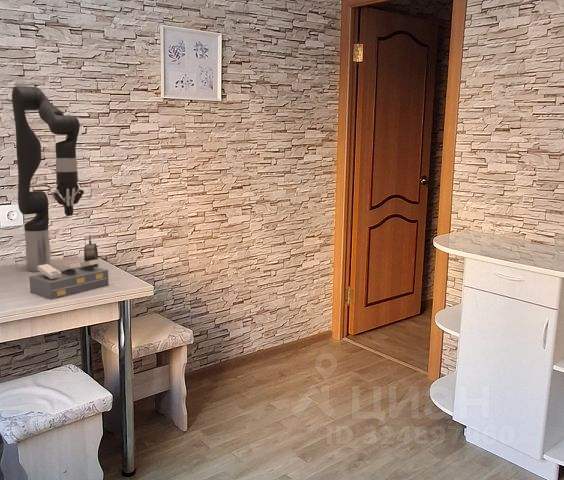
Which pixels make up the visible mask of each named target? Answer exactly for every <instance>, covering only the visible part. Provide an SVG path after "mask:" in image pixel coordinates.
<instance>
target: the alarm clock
mask: <svg viewBox="0 0 564 480" xmlns="http://www.w3.org/2000/svg"><path fill="white" fill-rule="evenodd" d="M88 234H89V235H88V236H89V239H88V240H89V241H88V242H89V243H86V244H85V245H84V248H83V260H84V262H87V261H90V260H95V259H96V260H97V259H99V254H98V252H99V251H98V246H97V244H96V243H92V240H91V234H90V233H88ZM99 265H100V264H94V265H93V266H94V267H98V268H99Z"/></svg>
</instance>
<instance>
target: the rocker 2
mask: <svg viewBox="0 0 564 480" xmlns="http://www.w3.org/2000/svg"><path fill="white" fill-rule="evenodd" d="M80 263H81V262H80V261H79V262H73V263H69V264H67V265H62V266H61V267H58V268H57V270H58V271H59V272H62V271H66V270H71V269H74V268H77V267H80V266H81V265H80Z"/></svg>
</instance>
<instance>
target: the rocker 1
mask: <svg viewBox="0 0 564 480" xmlns="http://www.w3.org/2000/svg"><path fill="white" fill-rule="evenodd" d="M37 270H38V271H40V274H44V275H46V276H47V277H49V278H50V279H53V278H58V277H61V272H59V271H58V269H57V268H55V267H54V266H52V265H51V266H50V265H49V264H44V265H39V266H38V269H37Z"/></svg>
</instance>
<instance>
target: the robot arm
mask: <svg viewBox="0 0 564 480" xmlns="http://www.w3.org/2000/svg"><path fill="white" fill-rule="evenodd" d="M11 103H12V111H13V117H14V118H13V119H14V125H15V143H16V144H15V146H16V148H15V150H16V161H17V174H18V175H17V176H18V179H17V181H18V183H17V205H18V209H19V212H20V214H22V215H25V216H27V215H34V214H35V216H34V217H33V218H32V219H31V220H29V221H26V222H25V223H24V225H23V227H24V239H25V257H26V259H25V260H26V269H27V271H28V272H33V273H34V272H35V273H36V272H37V273H39V272H40V271H38V270H37V269H38V266H39V265H44V264H49V265H50V266H52V265H51V264H52V261H51V249H50V235H49V234H50V233H49V223H50V222H49V221H50V220H49V219H50V218H49V216H50V215H49V214H50V213H49V212H50V211H49V199H48V195H47V193H46V192H45V191H43V190H37V191H36V190H35V191H33V190H32V191H30V189H31V184H32V183H31V182H32V179H33V177H34V175H35V174H36V172H37V170H38V168H39V166H40V164H41V162H42V143H41V141H40V140H39V138H38V136H37V135H36V133H35V132H34V130H33V129H32V127H30V125H29V122H28V121H27V120H28V119H27V116H26V111H38V112H37V113H38V116H39V118H40V120H42V121H43V122H44V123H45V124H46V125H47V126H48V128H49V131H50V132H51V133H52V134H53V135H56V136H59V135H60V136H66V138H65V139H64V140H61V141H58V142H56V144H55V174H56V175H55V178H56V179H55V180H56V183H57V184H56V185H57V186H56V189H55V190H54V192H51V193H50V195H51V196H52V198H54V200H55V201H56V202H57V204H59V205H61V206H63V207H64V215H65V216H66V217H72V216H73V214H74V205H78V203H79V201H80V200H81V198H82V196H83V195H84V193H85V191H84V190H83V189H81V188H79V185H78V183H79V182H78V181H79V179H78V177H79V175H78V161H77V142H78V137H79V134H80V128H81V124H80V121H79V119H78V117H77V116H75V115H66V114H65V113H64V112H62V110H61V109H59V108H58V107H57V106H55V105H54V104H53V103H52V102H51V101H50V100H49V98H48V96H46V94H45V93H44V92H43V90H42V89H40V88H39V87H35V86H27V85H26V86H22V85H16V86H13V88H12V91H11ZM40 273H41V272H40Z"/></svg>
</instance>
